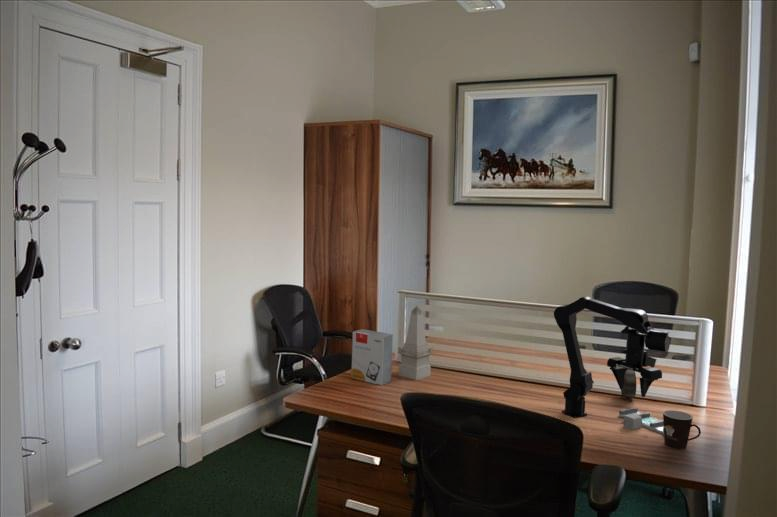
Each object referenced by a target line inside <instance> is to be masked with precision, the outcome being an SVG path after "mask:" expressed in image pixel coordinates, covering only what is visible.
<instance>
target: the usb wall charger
mask: <svg viewBox="0 0 777 517" xmlns="http://www.w3.org/2000/svg"><path fill="white" fill-rule="evenodd" d="M620 424H621V425H622V426H623V427H624V428H626V429H628V430H631V429H632V431H633V430H635V429H639V428H642V426H641V425H642V417H641V416H639V415H636V414H630V415H626V416H624V418H623V421H620Z"/></svg>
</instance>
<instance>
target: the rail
mask: <svg viewBox="0 0 777 517" xmlns="http://www.w3.org/2000/svg"><path fill="white" fill-rule="evenodd" d="M638 409H639V408H637V407H631V408H625V409H620V410H619V411H618V417H619V418H623V419H624V416H626V415H630V414H636V415H639V416H641V417H642V425H641V427H643V428H646V429H648V430H651V431H653V432H655V433H658V434H661V435H662V436H664V423H663V419H662V420H660V419H657V418H655V417H652V416H651V412H647V411H645V412H641V411H639V410H638Z"/></svg>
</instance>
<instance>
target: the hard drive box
mask: <svg viewBox="0 0 777 517" xmlns="http://www.w3.org/2000/svg"><path fill="white" fill-rule="evenodd" d="M393 336H394V335H393V334H391V333H387V332H382V331H376V330H369V329H364V328H361V329H358V330H354V331H352V337H351V338H352V339H351V340H352V341H351V366H350V367H351V371H350V372H351V374H350V378H351V379H354V380H357V381H361V382H366V383H370V384H373V385H379V386H384V385H385V384H388V383H390V382H392V367H393V366H392V363H393V361H392V360H393V342H394V341H393Z"/></svg>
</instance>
